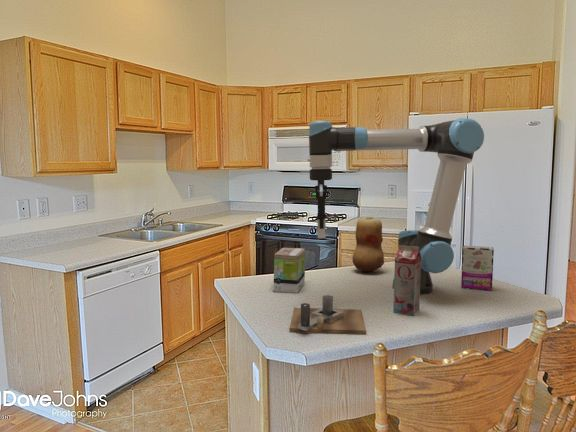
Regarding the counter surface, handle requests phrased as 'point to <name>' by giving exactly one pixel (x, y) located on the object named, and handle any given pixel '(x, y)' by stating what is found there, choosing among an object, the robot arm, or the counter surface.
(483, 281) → the candy bar box
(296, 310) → the board
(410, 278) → the juice carton
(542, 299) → the counter surface
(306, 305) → the square frame with handle
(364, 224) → the butternut squash
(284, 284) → the tea box
